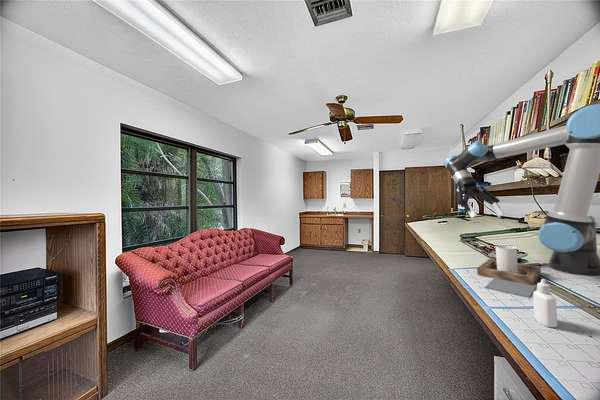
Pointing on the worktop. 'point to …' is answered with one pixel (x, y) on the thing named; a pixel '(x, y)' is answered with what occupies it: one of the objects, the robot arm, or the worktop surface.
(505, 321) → the worktop surface
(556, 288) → the worktop surface
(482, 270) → the walnut collar
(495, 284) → the rubber mat
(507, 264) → the mug
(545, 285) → the eye dropper bottle
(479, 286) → the worktop surface
